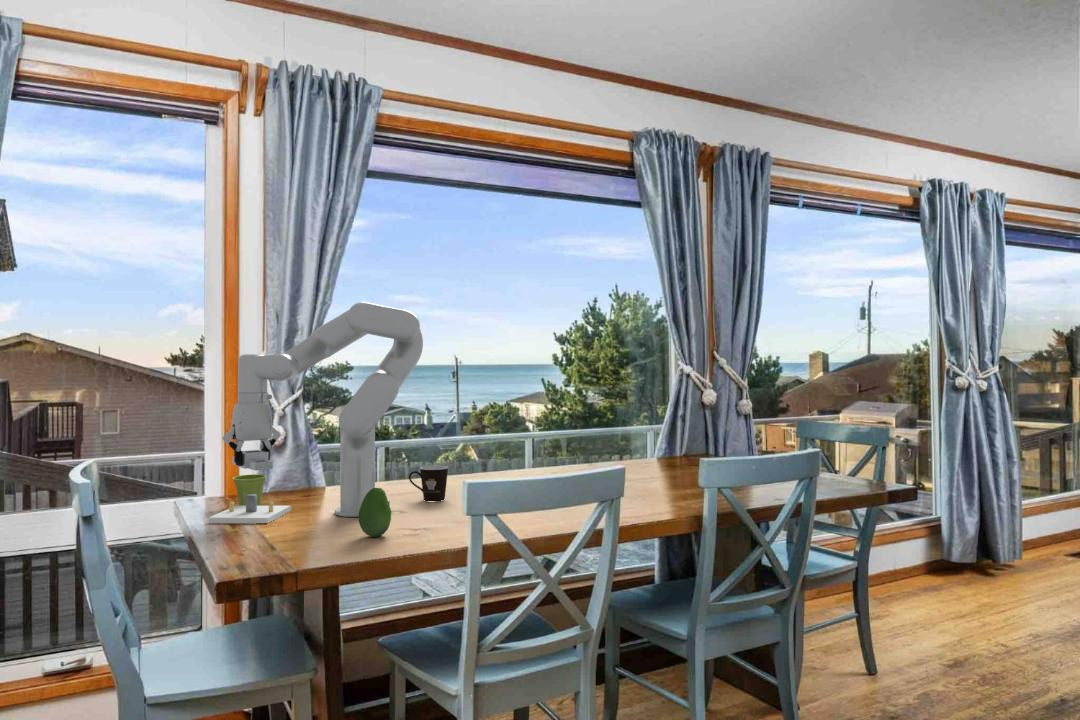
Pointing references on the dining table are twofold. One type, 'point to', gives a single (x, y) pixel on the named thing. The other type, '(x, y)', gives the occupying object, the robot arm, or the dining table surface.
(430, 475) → the coffee mug
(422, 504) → the dining table surface
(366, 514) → the avocado
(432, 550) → the dining table surface
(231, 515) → the post block
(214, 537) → the dining table surface
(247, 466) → the bracket
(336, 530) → the dining table surface
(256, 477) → the plant pot
